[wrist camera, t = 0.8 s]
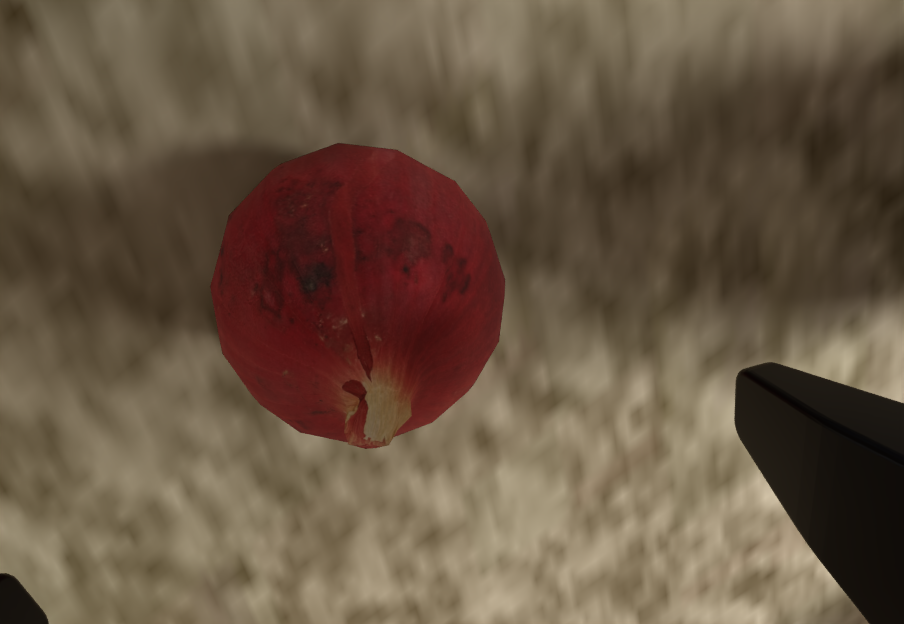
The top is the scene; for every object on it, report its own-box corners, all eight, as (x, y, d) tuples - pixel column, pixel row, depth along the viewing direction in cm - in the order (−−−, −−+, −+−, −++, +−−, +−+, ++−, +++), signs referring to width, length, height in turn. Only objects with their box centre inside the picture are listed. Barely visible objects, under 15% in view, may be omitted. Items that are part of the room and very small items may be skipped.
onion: (193, 168, 14) (65, 327, 7) (421, 80, 14) (508, 155, 7) (301, 360, 17) (281, 608, 10) (491, 286, 17) (603, 482, 10)
